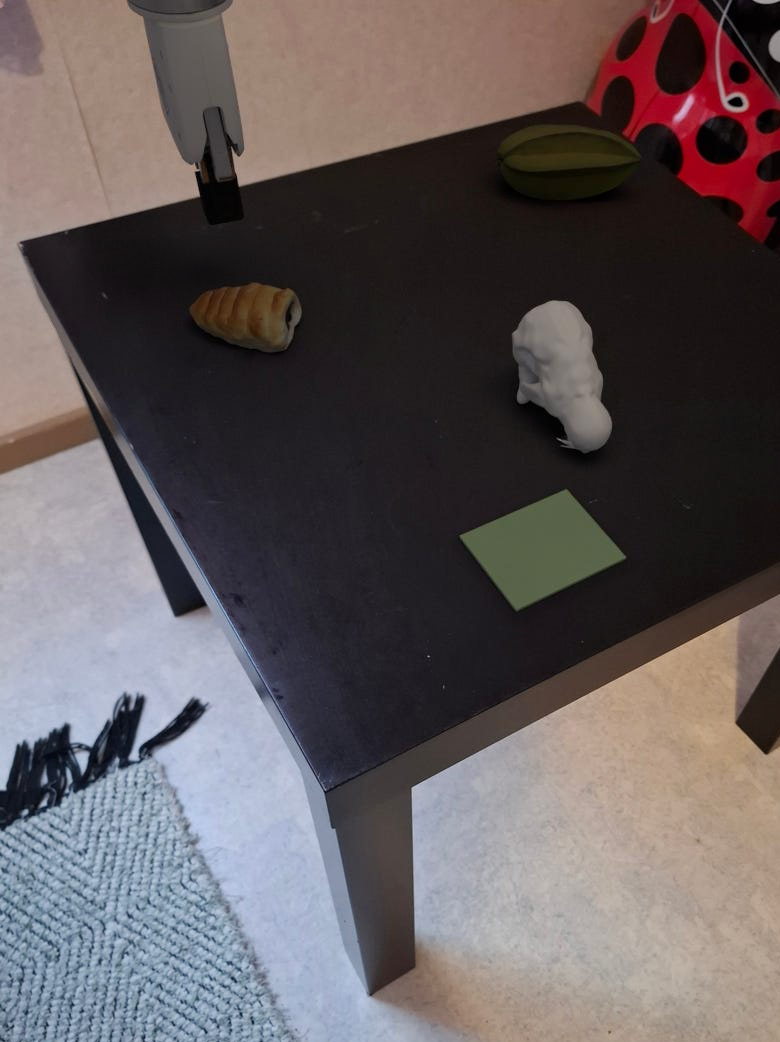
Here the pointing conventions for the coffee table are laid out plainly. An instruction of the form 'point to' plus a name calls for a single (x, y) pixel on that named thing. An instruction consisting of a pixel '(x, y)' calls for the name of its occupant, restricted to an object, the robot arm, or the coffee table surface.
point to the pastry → (249, 315)
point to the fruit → (565, 161)
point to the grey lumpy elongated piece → (562, 372)
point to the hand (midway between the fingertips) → (224, 217)
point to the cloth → (541, 549)
